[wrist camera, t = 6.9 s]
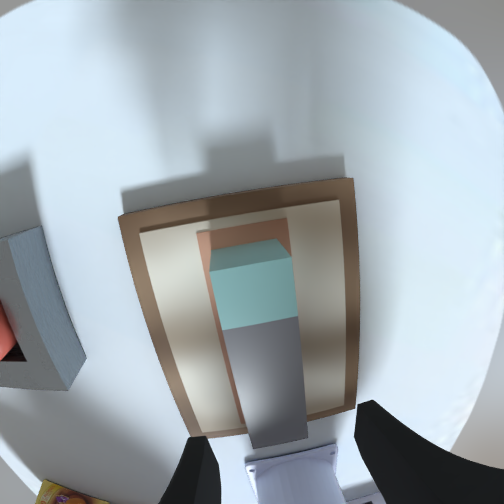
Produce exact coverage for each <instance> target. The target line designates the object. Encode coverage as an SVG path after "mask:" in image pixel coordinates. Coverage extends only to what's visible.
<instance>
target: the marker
mask: <svg viewBox="0 0 504 504" xmlns="http://www.w3.org/2000/svg"><path fill="white" fill-rule="evenodd" d="M209 273H210V278H211V283H212V287H213V292H214V297H215V301H216V306H217V310H218V314H219V319H220V323H221V327H222V332H223V336H224V340H225V344H226V348H227V353H228V357H229V361H230V365H231V369H232V373H233V377H234V381H235V385H236V388H237V392H238V396H239V400H240V404H241V407H242V411H243V415H244V418H245V422H246V426H247V429H248V433H249V436H250V440H251V443H252V447H253V449H256V448H262V447H267V446H273V445H278V444H283V443H288V442H292V441H297V440H301V439H305V438H308V428H307V413H306V399H305V386H304V374H303V362H302V351H301V340H300V330H299V320H298V310H297V300H296V291H295V282H294V274H293V265H292V257H291V256H290V254H289V253H288V252H287V251H286V249H285V248H284V247H283V246H282V245H281V243H280V242H279V241H278V240H277V238H276V239H270V240H265V241H259V242H253V243H248V244H242V245H236V246H231V247H225V248H220V249H214V250H211V257H210V268H209Z"/></svg>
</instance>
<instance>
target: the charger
mask: <svg viewBox="0 0 504 504" xmlns="http://www.w3.org/2000/svg"><path fill="white" fill-rule="evenodd" d="M346 504H386V502H385V500H384V498H383V496H382V494H381V492H378V493H375V494H372V495H368V496H365V497H362V498H358V499H355V500H351V501H347V502H346Z"/></svg>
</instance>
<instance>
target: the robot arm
mask: <svg viewBox="0 0 504 504" xmlns="http://www.w3.org/2000/svg"><path fill="white" fill-rule="evenodd" d="M354 438H355V441H356V443H357V446H358V449H359V452H360V454H361V457H362V459H363V461H364V463H365V465H366V466H367V468H368V470H369V472H370V474H371V476H372V478H373V479H374V481H375V483H376V485H377V487H378V489H379V490H380V492H381V494H382V496H383V498H384V500H385V502H386V504H504V469H499V468H494V467H489V466H486V465H483V464H479V463H476V462H473V461H470V460H467V459H464V458H461V457H459V456H456V455H454V454H452V453H450V452H448V451H446V450H444V449H442V448H440V447H438V446H436V445H435V444H433V443H431V442H429V441H428V440H426V439H424V438H423V437H421V436H420V435H418V434H417V433H415V432H414V431H413V430H411V429H410V428H408V427H407V426H405V425H404V424H403V423H401V422H400V421H399V420H397V419H396V418H395V417H394V416H392V415H391V414H390V413H389V412H387V411H386V410H385V409H384V408H383V407H381V406H380V405H379V404H378V403H377V402H375V401H374V400H370V401H367V402H364V403H361V404H358V405H357V415H356V424H355V432H354ZM337 454H338V447H337V445H336V444H331V445H327V446H324V447H320V448H316V449H312V450H308V451H304V452H299V453H295V454H290V455H286V456H281V457H275V458H270V459H264V460H258V461H252V462H248V463H246V464H245V469H246V472H247V474H248V477H249V480H250V483H251V486H252V488H253V491H254V494H255V496H256V499H257V502H258V504H346V501H345V499H344V496H343V493H342V491H341V488H340V486H339V483H338V480H337V478H336V465H337ZM158 504H221V481H220V472H219V464H218V462H217V460H216V458H215V455H214V453H213V451H212V448H211V446H210V444H209V441H208V439H207V437H206V436H196V437H189V438H188V439H187V442H186V445H185V448H184V451H183V454H182V456H181V459H180V461H179V464H178V466H177V468H176V471H175V473H174V475H173V477H172V479H171V481H170V483H169V485H168V487H167V489H166V491H165V493H164V495H163V496H162V498H161V500H160V502H159V503H158Z"/></svg>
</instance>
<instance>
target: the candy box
mask: <svg viewBox="0 0 504 504" xmlns="http://www.w3.org/2000/svg"><path fill="white" fill-rule="evenodd" d="M35 504H110V503H109V502H107V501H103V500H100V499H97V498H93V497H90V496H87V495H84V494H81V493H78V492H75V491H73V490H70V489H67V488H65V487H62V486H60V485H57V484H55V483H52V482H49V481H47V480H45V479H44V480H43V483H42V485H41V488H40V491H39V494H38V496H37V500H36V503H35Z"/></svg>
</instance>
